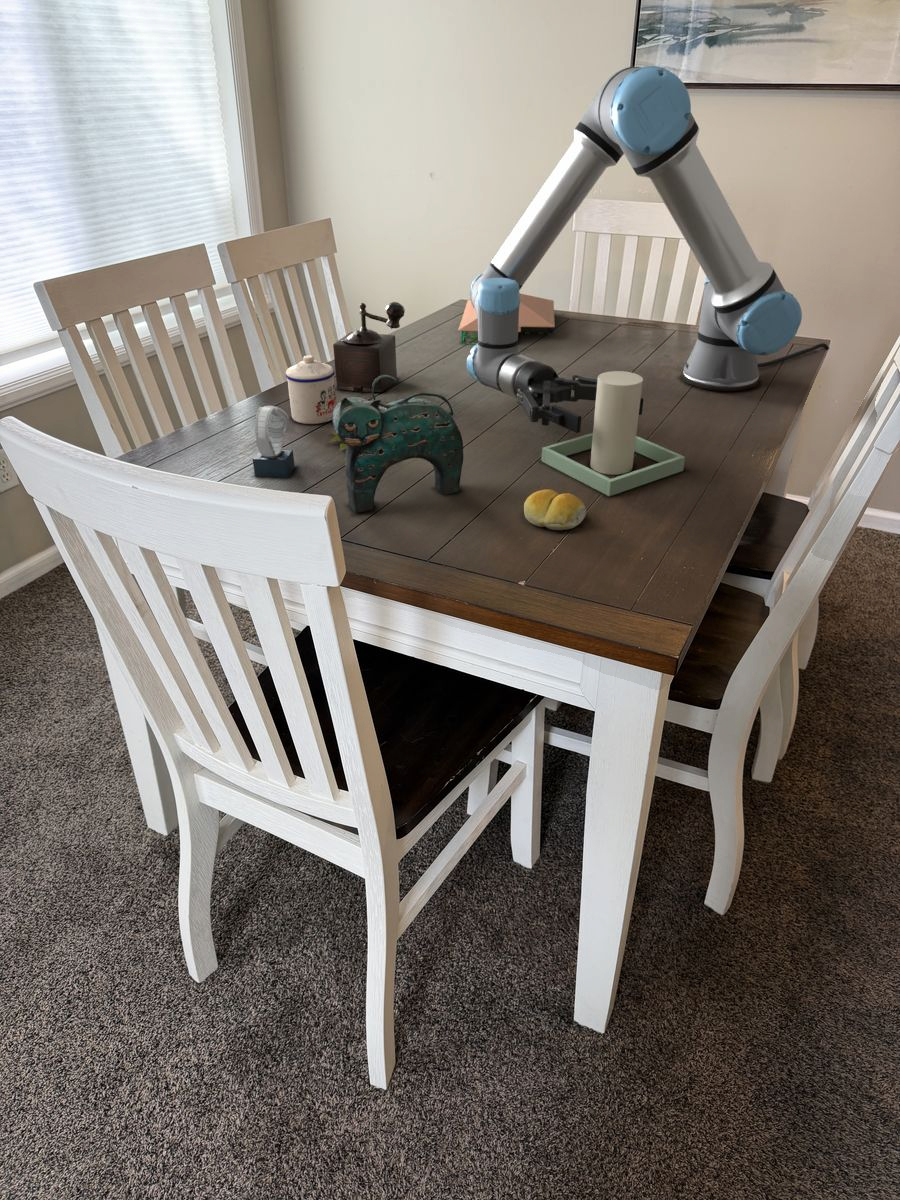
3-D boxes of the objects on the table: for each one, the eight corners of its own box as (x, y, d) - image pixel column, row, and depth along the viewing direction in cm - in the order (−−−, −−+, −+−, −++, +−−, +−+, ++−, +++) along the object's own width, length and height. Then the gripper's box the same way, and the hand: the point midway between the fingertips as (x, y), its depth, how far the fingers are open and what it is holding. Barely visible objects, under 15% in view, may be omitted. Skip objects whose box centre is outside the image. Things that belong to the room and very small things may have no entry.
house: (552, 310, 224) (554, 279, 220) (554, 345, 197) (556, 310, 193) (468, 309, 226) (468, 278, 222) (458, 344, 199) (458, 309, 195)
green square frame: (613, 439, 148) (614, 426, 147) (683, 470, 137) (685, 456, 135) (541, 461, 140) (541, 447, 139) (609, 496, 129) (610, 481, 128)
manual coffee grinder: (333, 390, 172) (325, 301, 162) (353, 374, 181) (346, 288, 171) (404, 396, 168) (400, 305, 158) (420, 379, 177) (418, 292, 167)
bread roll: (538, 501, 128) (539, 477, 126) (591, 515, 124) (593, 490, 122) (512, 522, 122) (513, 497, 120) (567, 537, 118) (568, 512, 116)
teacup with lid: (324, 427, 155) (318, 365, 148) (282, 422, 157) (274, 361, 151) (352, 406, 164) (348, 347, 158) (312, 401, 167) (306, 343, 160)
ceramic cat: (347, 519, 124) (335, 388, 113) (334, 502, 129) (322, 375, 118) (468, 494, 130) (468, 369, 119) (451, 479, 135) (450, 356, 124)
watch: (298, 462, 141) (290, 400, 135) (284, 482, 135) (275, 417, 129) (266, 461, 142) (257, 398, 136) (251, 481, 135) (241, 416, 129)
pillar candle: (612, 454, 143) (620, 368, 134) (641, 468, 138) (652, 379, 130) (581, 464, 139) (588, 376, 131) (610, 478, 135) (619, 388, 126)
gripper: (580, 388, 157) (662, 421, 142) (472, 415, 146) (550, 455, 131) (583, 348, 153) (668, 378, 138) (473, 373, 142) (552, 409, 127)
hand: (611, 415), depth 135 cm, fingers open, 13 cm apart
